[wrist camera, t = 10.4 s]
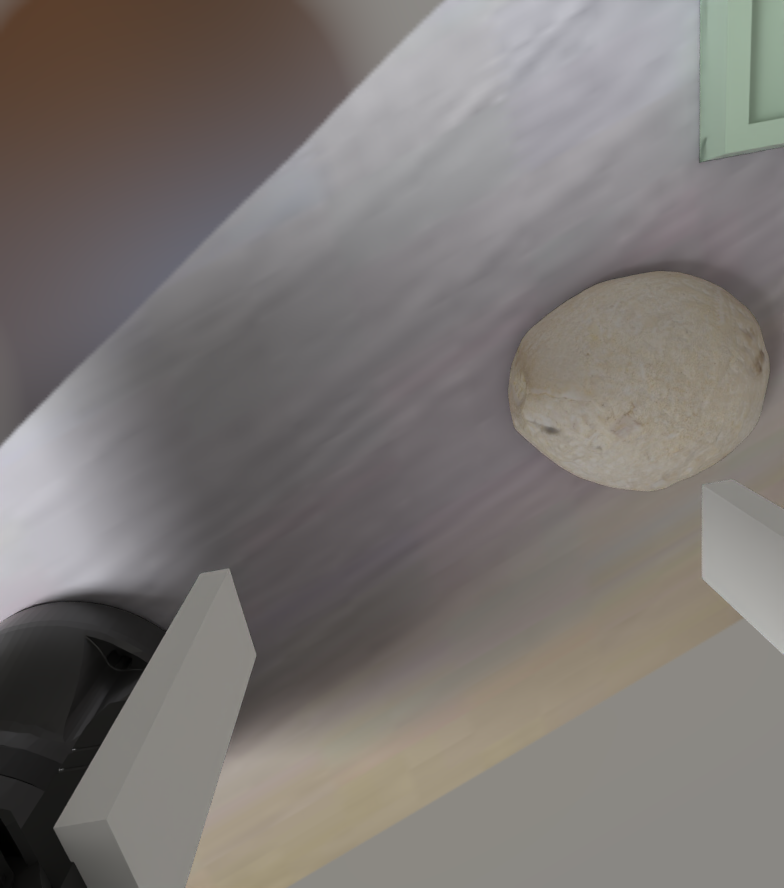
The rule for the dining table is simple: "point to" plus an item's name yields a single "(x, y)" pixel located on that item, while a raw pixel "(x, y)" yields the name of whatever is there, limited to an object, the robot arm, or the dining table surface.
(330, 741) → the dining table surface
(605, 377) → the stone
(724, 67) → the tray
